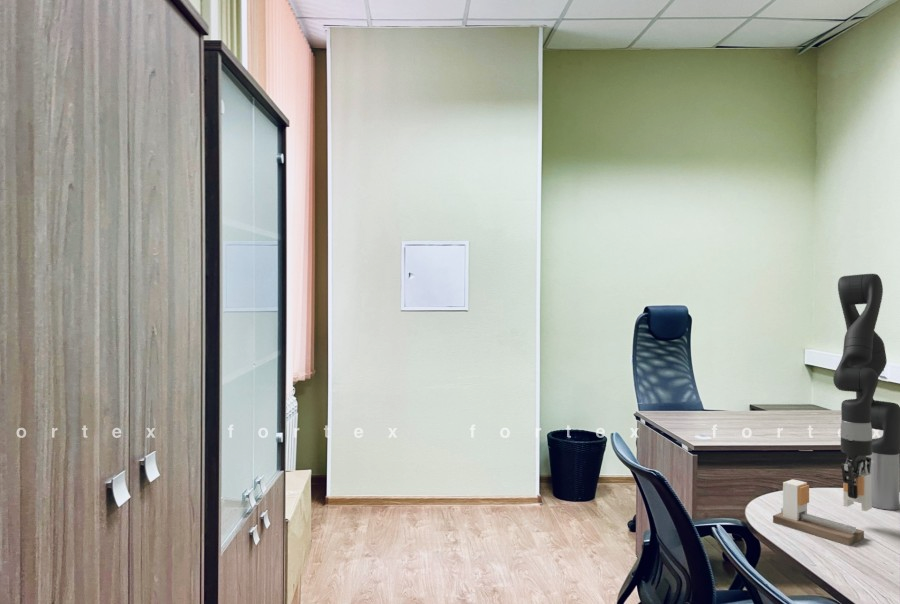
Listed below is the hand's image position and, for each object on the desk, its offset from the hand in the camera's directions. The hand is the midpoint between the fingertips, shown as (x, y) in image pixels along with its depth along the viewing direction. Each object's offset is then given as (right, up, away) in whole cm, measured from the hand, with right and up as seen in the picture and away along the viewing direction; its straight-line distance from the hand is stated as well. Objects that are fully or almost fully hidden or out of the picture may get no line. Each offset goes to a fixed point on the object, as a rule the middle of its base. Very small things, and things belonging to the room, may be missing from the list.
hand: (856, 495), depth 171 cm
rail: (-13, -9, -2) cm, 16 cm away
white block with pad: (0, -3, 0) cm, 3 cm away
